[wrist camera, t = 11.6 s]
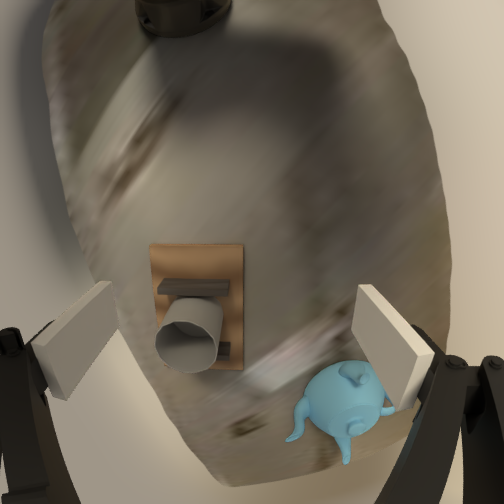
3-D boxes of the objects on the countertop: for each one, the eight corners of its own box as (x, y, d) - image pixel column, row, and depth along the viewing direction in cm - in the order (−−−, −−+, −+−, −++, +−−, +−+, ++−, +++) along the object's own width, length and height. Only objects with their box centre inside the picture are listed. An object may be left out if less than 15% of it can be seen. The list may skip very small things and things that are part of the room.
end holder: (151, 244, 43) (140, 253, 38) (243, 244, 43) (242, 254, 38) (166, 362, 49) (159, 379, 44) (243, 365, 49) (242, 384, 44)
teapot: (275, 397, 52) (281, 444, 40) (345, 331, 48) (368, 375, 36) (334, 424, 55) (346, 466, 43) (397, 370, 51) (422, 408, 39)
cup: (207, 280, 44) (197, 310, 34) (232, 324, 46) (229, 361, 36) (161, 301, 45) (142, 333, 35) (187, 342, 47) (175, 379, 37)
